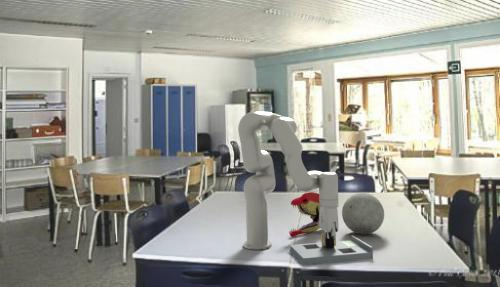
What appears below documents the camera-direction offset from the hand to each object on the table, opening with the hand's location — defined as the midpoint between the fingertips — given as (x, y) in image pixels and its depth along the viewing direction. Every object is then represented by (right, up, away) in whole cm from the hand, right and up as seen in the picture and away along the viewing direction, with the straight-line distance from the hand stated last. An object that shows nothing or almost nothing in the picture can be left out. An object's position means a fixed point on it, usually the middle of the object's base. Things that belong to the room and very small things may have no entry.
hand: (329, 247), depth 169 cm
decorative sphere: (+23, -2, +34) cm, 41 cm away
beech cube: (0, 0, +4) cm, 4 cm away
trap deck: (0, -4, +3) cm, 5 cm away
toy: (-2, -2, +38) cm, 38 cm away
